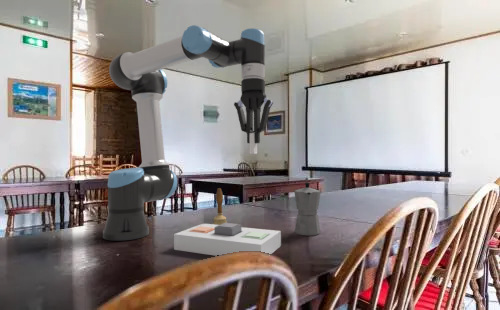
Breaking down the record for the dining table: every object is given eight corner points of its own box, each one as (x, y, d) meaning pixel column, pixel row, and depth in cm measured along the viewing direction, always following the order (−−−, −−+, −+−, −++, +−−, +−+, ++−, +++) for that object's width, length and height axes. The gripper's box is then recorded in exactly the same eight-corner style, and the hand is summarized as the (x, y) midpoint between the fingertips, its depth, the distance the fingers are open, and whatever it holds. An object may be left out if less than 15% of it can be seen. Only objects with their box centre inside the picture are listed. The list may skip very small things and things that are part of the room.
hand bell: (228, 235, 110) (227, 189, 110) (205, 234, 112) (205, 189, 112) (233, 230, 119) (233, 187, 118) (212, 229, 120) (212, 187, 120)
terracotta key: (189, 240, 98) (189, 229, 98) (200, 235, 103) (200, 225, 103) (206, 242, 96) (205, 231, 96) (216, 237, 101) (216, 227, 101)
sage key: (241, 247, 91) (241, 235, 91) (250, 241, 96) (250, 231, 96) (261, 249, 88) (261, 237, 88) (268, 244, 94) (268, 232, 94)
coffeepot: (323, 237, 107) (323, 184, 107) (295, 236, 108) (294, 184, 108) (318, 227, 122) (317, 180, 122) (293, 226, 123) (293, 180, 123)
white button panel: (174, 249, 94) (173, 234, 94) (203, 236, 109) (203, 223, 109) (261, 262, 83) (261, 244, 83) (280, 246, 97) (280, 231, 97)
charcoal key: (214, 237, 94) (214, 226, 94) (224, 232, 100) (224, 222, 100) (232, 239, 92) (232, 227, 92) (241, 234, 97) (241, 223, 97)
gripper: (229, 79, 100) (229, 154, 100) (267, 74, 95) (268, 153, 95) (239, 84, 107) (240, 153, 107) (276, 80, 102) (276, 153, 102)
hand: (253, 153), depth 101 cm, fingers closed
